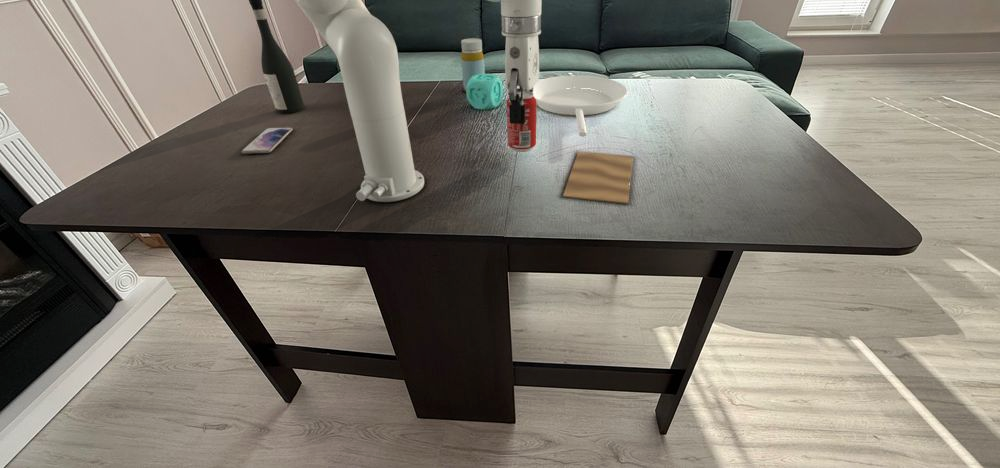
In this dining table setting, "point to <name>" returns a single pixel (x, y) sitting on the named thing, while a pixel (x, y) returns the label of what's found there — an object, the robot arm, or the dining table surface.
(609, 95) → the pan
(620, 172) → the wooden trivet
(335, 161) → the dining table surface
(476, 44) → the bottle
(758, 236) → the dining table surface
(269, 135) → the smartphone
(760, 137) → the dining table surface
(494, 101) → the decorative dice
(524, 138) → the beverage can
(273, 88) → the wine bottle
